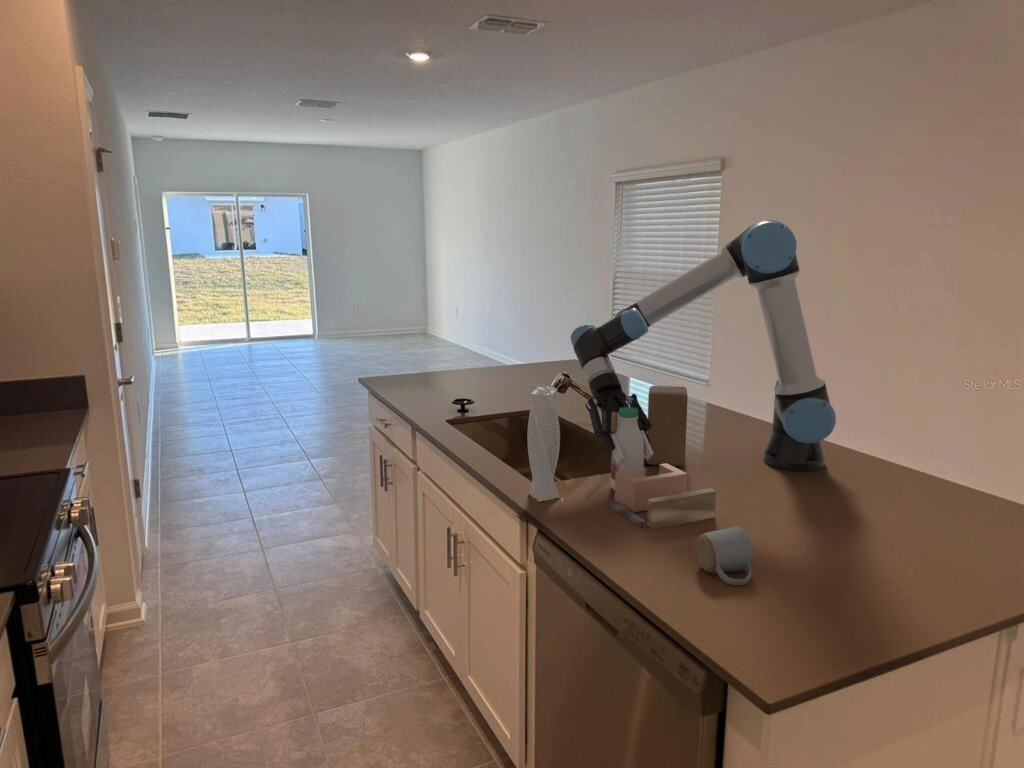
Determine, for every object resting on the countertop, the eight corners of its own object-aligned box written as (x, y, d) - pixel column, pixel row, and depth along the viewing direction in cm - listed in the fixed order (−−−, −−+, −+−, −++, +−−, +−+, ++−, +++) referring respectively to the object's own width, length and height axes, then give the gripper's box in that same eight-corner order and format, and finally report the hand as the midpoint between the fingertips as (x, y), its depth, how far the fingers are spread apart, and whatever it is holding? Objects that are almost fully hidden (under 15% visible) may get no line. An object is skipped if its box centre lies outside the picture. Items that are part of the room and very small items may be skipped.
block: (684, 467, 183) (687, 394, 179) (646, 465, 185) (648, 392, 181) (684, 456, 193) (686, 386, 188) (647, 454, 195) (649, 384, 191)
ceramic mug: (691, 562, 130) (693, 524, 129) (730, 557, 132) (733, 519, 130) (721, 590, 120) (724, 550, 119) (763, 584, 122) (766, 544, 120)
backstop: (609, 505, 158) (609, 481, 157) (679, 493, 165) (680, 469, 164) (646, 530, 144) (646, 503, 143) (720, 515, 152) (722, 489, 150)
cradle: (614, 500, 161) (615, 471, 159) (665, 491, 166) (666, 463, 164) (633, 512, 153) (634, 482, 152) (686, 502, 159) (687, 473, 157)
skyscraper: (536, 505, 159) (535, 386, 153) (520, 495, 165) (519, 380, 159) (565, 499, 162) (566, 382, 156) (549, 489, 169) (549, 376, 163)
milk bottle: (645, 484, 171) (647, 406, 167) (640, 495, 164) (642, 413, 160) (614, 481, 174) (615, 404, 169) (608, 492, 166) (609, 411, 162)
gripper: (630, 384, 182) (664, 460, 171) (561, 391, 174) (592, 472, 163) (642, 367, 176) (678, 445, 165) (571, 374, 168) (604, 457, 157)
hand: (635, 458), depth 164 cm, fingers closed on milk bottle, 7 cm apart
